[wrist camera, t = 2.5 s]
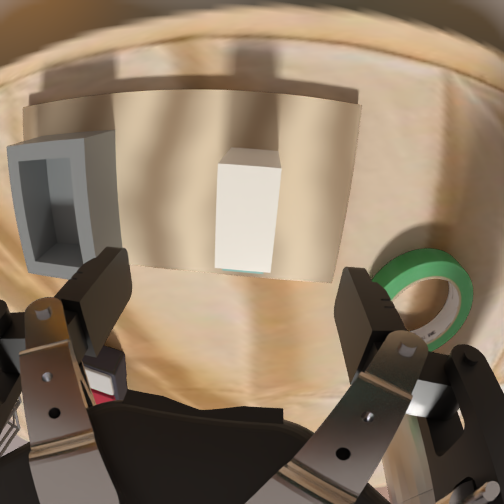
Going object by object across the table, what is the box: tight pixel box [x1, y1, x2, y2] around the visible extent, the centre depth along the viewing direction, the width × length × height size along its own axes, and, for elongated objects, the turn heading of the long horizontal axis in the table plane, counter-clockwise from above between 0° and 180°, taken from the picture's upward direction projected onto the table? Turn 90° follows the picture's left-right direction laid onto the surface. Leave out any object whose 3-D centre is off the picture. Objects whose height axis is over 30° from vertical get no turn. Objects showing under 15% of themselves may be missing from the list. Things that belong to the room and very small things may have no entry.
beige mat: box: [23, 89, 362, 283], centre depth 23 cm, size 27×14×1 cm, turn 86°
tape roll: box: [371, 248, 473, 352], centre depth 26 cm, size 11×11×3 cm
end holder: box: [7, 130, 123, 280], centre depth 21 cm, size 7×10×4 cm
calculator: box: [82, 345, 127, 405], centre depth 34 cm, size 11×4×15 cm
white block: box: [215, 147, 282, 274], centre depth 20 cm, size 3×6×6 cm, turn 176°
